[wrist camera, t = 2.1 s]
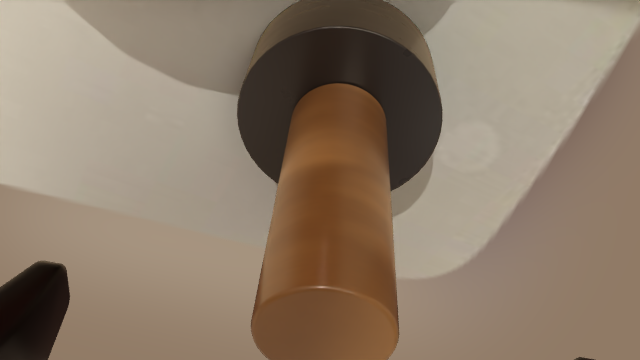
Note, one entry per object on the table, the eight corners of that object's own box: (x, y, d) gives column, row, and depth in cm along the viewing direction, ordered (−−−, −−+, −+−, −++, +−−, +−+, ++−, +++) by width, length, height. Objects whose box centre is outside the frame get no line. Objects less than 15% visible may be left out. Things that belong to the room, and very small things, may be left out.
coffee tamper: (460, 14, 16) (548, 256, 8) (403, 169, 19) (429, 440, 12) (263, -29, 15) (167, 185, 8) (242, 137, 19) (160, 397, 11)
